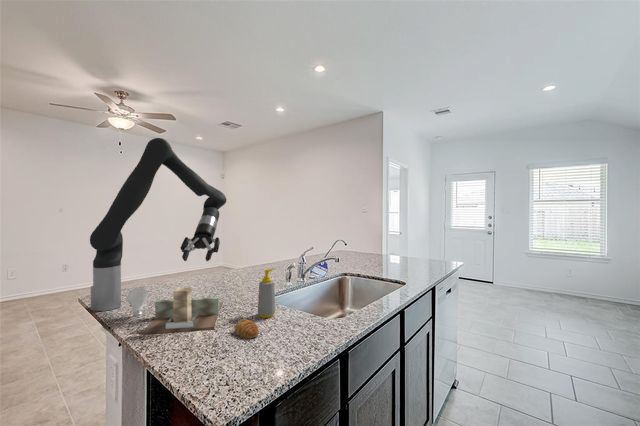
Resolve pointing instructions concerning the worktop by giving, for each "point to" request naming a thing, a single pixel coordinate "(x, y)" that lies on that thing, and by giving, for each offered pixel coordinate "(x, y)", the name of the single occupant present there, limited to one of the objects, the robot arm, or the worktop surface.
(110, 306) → the robot arm
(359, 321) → the worktop surface
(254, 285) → the worktop surface
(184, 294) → the block
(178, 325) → the keeper socket
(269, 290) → the soap bottle
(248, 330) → the pastry
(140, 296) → the light bulb
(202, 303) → the door mockup
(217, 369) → the worktop surface
